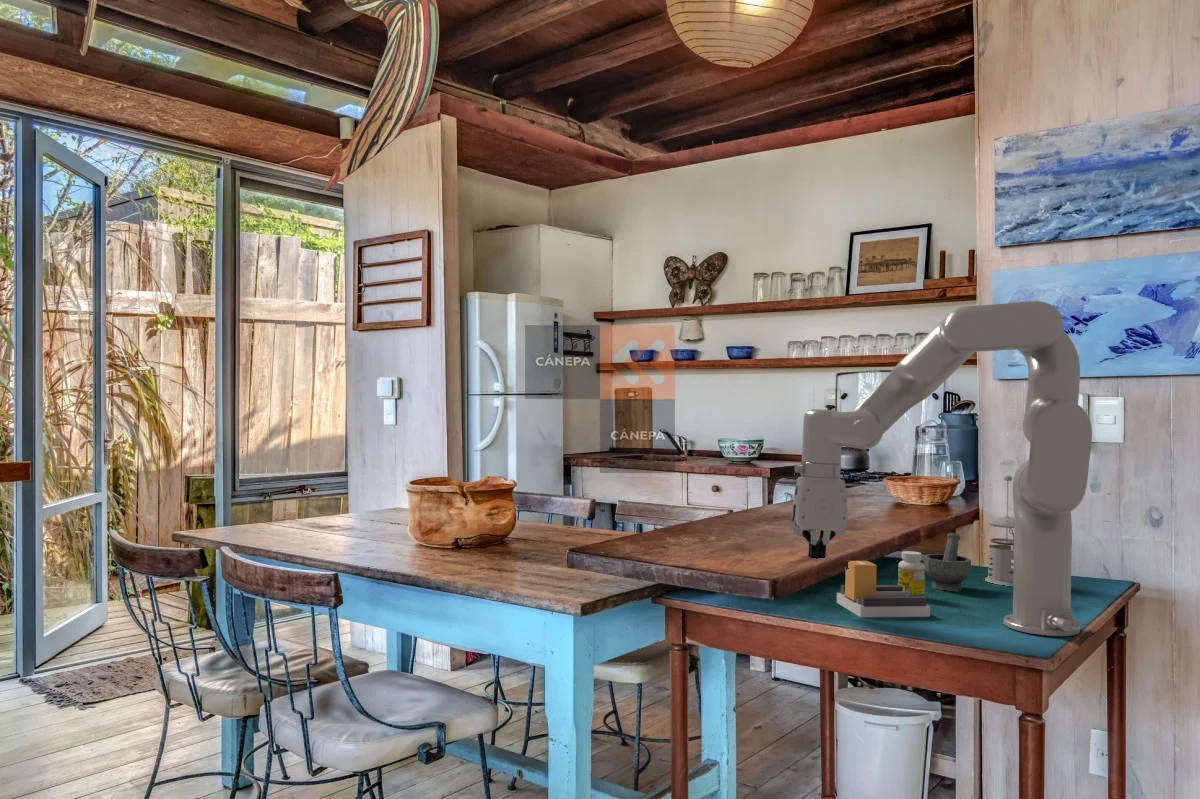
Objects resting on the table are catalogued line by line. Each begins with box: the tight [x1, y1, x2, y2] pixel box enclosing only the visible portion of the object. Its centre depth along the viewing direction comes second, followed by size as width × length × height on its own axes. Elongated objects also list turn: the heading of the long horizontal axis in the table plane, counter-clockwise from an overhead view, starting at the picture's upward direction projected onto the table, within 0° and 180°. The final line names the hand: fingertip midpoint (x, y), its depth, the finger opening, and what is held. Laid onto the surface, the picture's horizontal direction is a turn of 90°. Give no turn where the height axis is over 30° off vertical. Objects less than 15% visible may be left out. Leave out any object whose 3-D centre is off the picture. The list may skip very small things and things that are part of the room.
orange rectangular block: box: [844, 560, 878, 601], centre depth 171 cm, size 4×4×7 cm
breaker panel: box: [836, 584, 931, 618], centre depth 172 cm, size 12×14×4 cm
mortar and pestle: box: [923, 532, 972, 592], centre depth 193 cm, size 11×9×12 cm
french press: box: [984, 475, 1014, 587], centre depth 201 cm, size 10×12×25 cm
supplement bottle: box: [897, 550, 926, 598], centre depth 183 cm, size 5×5×10 cm
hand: (816, 563), depth 170 cm, fingers closed
